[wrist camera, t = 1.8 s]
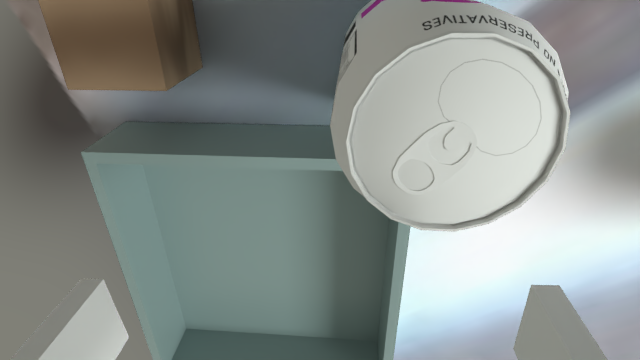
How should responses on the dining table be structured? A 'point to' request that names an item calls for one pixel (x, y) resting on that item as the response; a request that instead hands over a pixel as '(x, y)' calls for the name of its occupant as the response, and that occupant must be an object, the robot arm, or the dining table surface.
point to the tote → (248, 242)
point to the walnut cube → (123, 42)
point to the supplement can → (447, 111)
